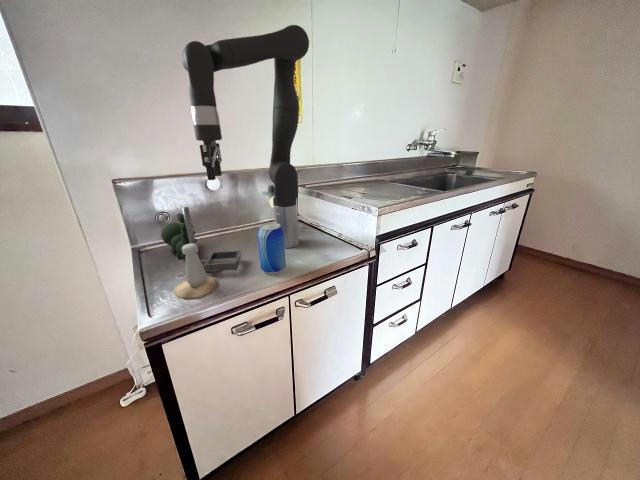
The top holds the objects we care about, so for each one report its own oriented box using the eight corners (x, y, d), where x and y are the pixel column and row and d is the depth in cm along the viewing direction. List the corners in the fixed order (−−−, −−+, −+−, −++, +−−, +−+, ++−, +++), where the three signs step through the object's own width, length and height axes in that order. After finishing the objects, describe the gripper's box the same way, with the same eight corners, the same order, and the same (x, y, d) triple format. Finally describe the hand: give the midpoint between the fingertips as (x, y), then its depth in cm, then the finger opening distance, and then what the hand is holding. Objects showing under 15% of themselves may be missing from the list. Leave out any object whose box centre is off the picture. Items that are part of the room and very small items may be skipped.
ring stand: (241, 260, 97) (234, 202, 88) (237, 273, 88) (228, 210, 79) (195, 263, 95) (182, 204, 87) (185, 277, 86) (170, 212, 77)
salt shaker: (211, 279, 83) (203, 241, 78) (201, 289, 78) (193, 249, 73) (193, 278, 84) (185, 240, 79) (183, 288, 79) (173, 248, 74)
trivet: (221, 276, 86) (221, 274, 86) (212, 297, 75) (211, 295, 75) (182, 278, 85) (182, 277, 85) (167, 300, 74) (167, 298, 74)
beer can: (274, 278, 85) (270, 232, 79) (256, 271, 89) (250, 227, 83) (290, 267, 91) (288, 224, 85) (272, 262, 95) (269, 220, 89)
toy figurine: (207, 262, 99) (183, 239, 115) (200, 215, 91) (175, 197, 107) (181, 270, 93) (159, 245, 109) (171, 221, 85) (148, 201, 101)
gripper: (213, 122, 73) (222, 181, 80) (224, 124, 86) (231, 174, 93) (185, 122, 73) (196, 181, 79) (200, 124, 86) (209, 174, 92)
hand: (215, 177), depth 86 cm, fingers open, 8 cm apart
